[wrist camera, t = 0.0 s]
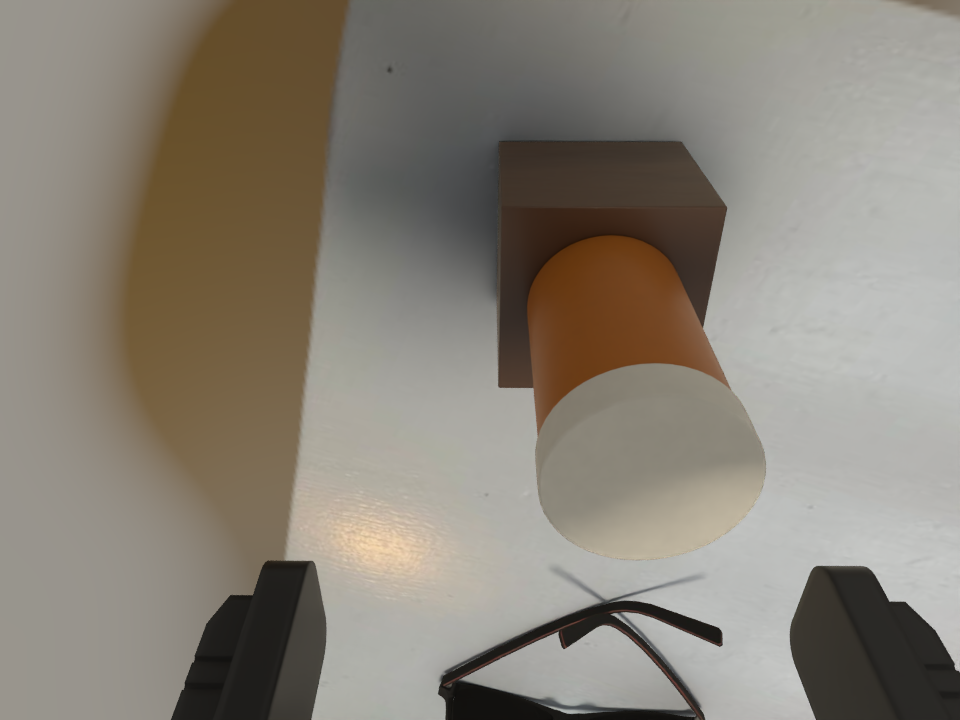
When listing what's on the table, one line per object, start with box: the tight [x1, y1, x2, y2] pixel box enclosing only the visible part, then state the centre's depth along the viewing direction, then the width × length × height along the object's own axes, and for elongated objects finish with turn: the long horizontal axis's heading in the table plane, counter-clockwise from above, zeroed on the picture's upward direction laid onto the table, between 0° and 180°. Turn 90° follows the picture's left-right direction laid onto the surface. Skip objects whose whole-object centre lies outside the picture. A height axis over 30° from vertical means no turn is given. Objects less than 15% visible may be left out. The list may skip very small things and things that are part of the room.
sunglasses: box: [438, 601, 723, 720], centre depth 40 cm, size 17×14×5 cm
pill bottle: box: [527, 235, 766, 560], centre depth 19 cm, size 5×5×8 cm
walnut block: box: [497, 142, 727, 388], centre depth 25 cm, size 6×6×6 cm
